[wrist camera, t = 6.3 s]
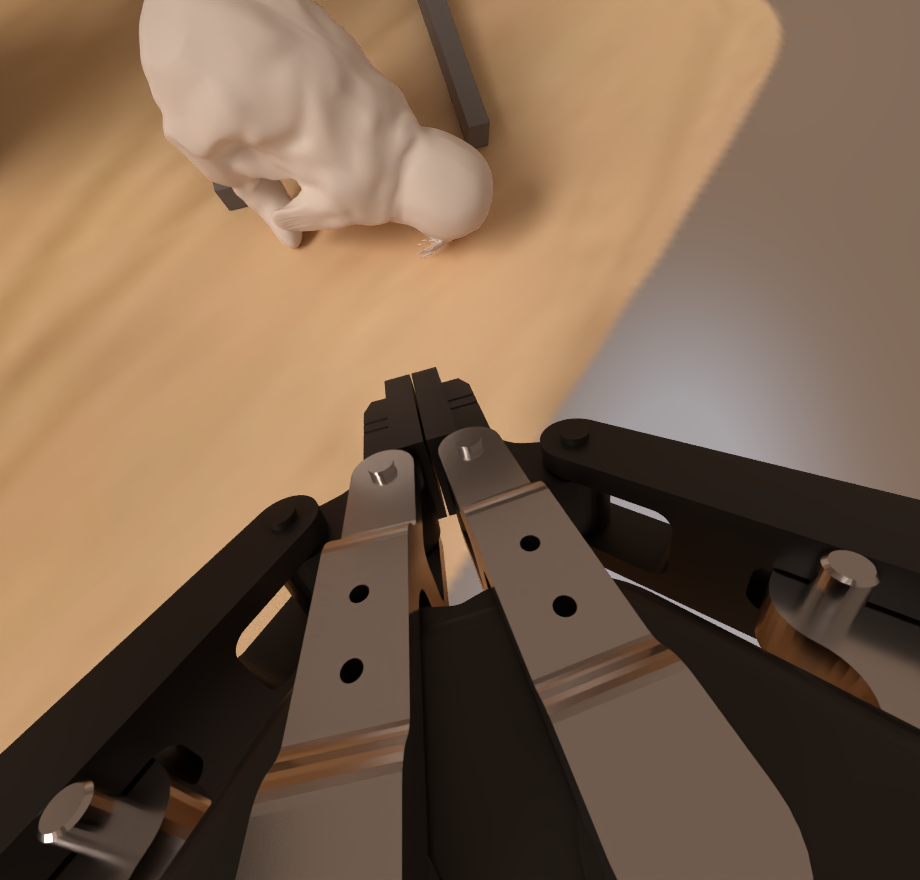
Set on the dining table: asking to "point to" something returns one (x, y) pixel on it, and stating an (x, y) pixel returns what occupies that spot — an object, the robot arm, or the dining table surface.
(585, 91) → the dining table surface
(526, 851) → the robot arm
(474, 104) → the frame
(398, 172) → the cream figurine
